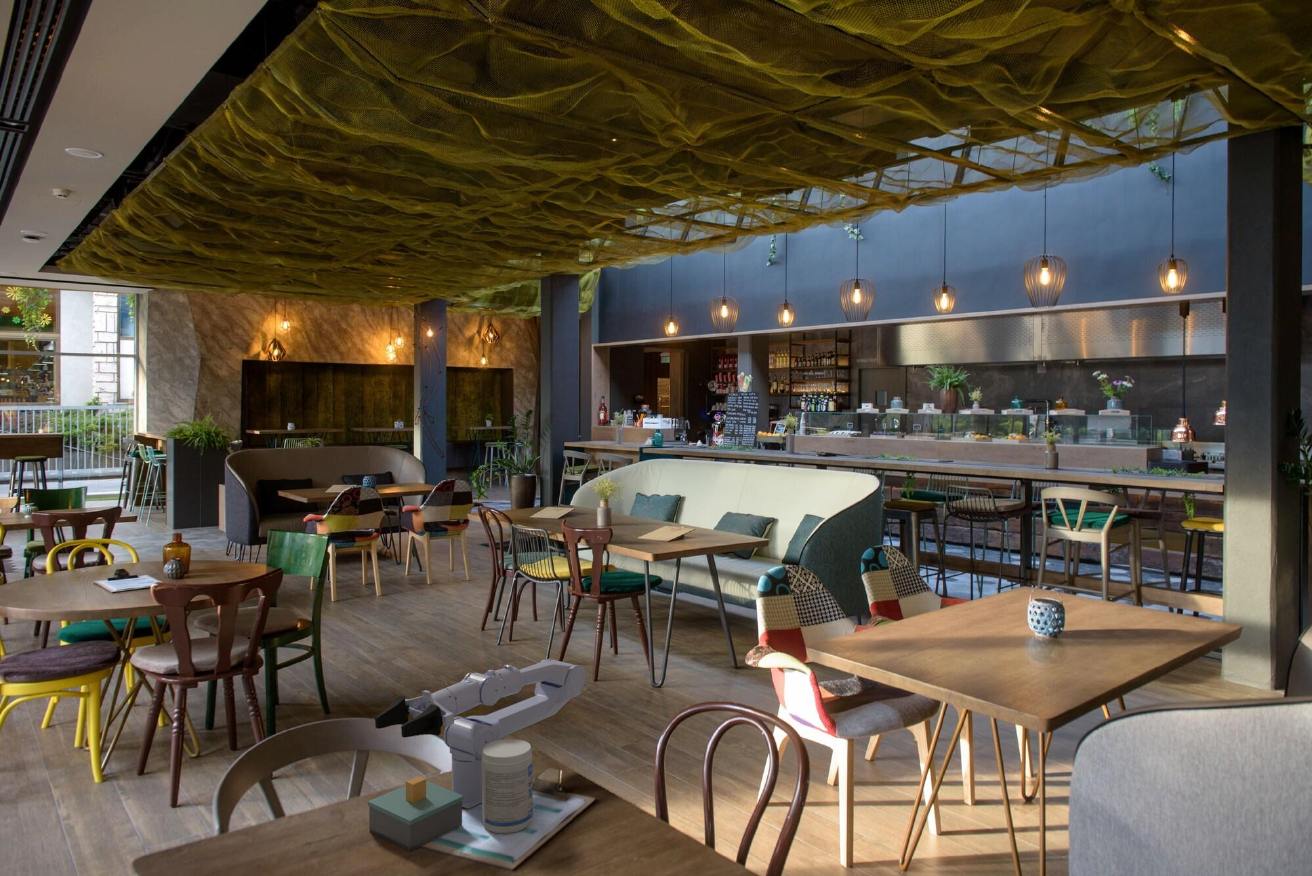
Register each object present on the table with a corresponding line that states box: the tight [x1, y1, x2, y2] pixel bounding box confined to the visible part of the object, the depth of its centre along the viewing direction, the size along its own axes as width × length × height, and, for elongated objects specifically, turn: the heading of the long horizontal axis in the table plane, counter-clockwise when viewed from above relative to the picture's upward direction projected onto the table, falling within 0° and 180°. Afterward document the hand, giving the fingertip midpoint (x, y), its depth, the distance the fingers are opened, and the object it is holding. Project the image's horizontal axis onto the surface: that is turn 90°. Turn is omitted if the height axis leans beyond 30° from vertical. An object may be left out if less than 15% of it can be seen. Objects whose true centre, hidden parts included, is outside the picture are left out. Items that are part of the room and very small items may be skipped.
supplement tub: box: [481, 738, 534, 834], centre depth 165 cm, size 10×10×15 cm
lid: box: [367, 775, 464, 825], centre depth 162 cm, size 12×12×5 cm
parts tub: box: [368, 801, 463, 853], centre depth 163 cm, size 12×12×5 cm
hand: (389, 727), depth 159 cm, fingers open, 7 cm apart
